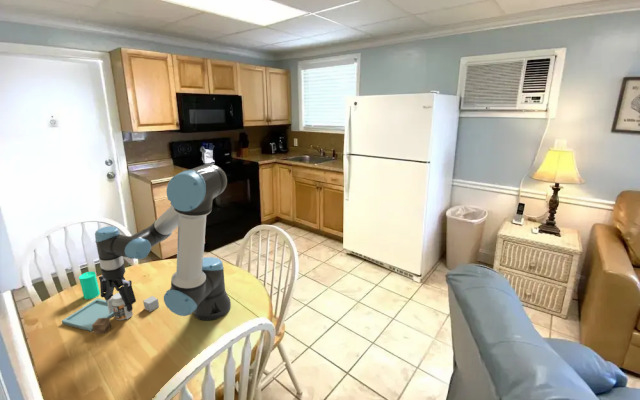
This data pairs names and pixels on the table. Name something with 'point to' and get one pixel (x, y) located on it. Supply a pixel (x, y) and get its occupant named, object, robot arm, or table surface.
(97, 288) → the candle
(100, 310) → the tray
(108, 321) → the walnut block
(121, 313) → the pill bottle
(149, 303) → the grey block
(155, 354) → the table surface
